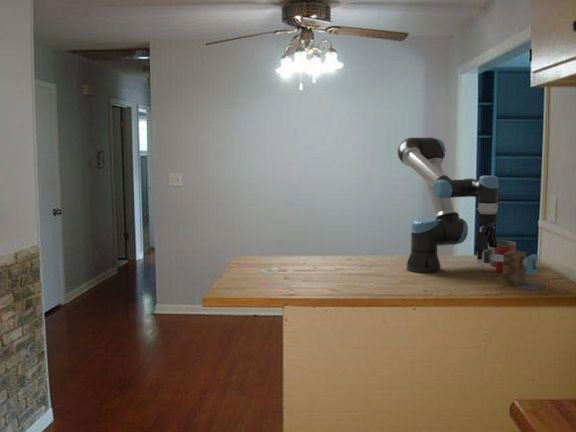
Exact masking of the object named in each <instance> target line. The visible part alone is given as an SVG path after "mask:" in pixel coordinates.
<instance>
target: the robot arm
mask: <svg viewBox="0 0 576 432" xmlns="http://www.w3.org/2000/svg"><path fill="white" fill-rule="evenodd" d="M397 156H398V159H399V161H400V162H402V164H404V165H405V166H407V167H410V168H411V169H412V170H413V171H415V173H417V174H418V175H419V176H420V177H421V178H422V179H423V180H424V181H426V185H427V189H428V192H429V196H430V199H431V203H432V207H433V211H434V215H435V216H434V217H431V216H430V217H429V216H428V217H420V218H416V219H414V220H413V221H412V222H411V228H410V232H411V237H410V238H411V239H410V243H411V244H410V254H409V256H408V260H407V263H406V270H407V271H410V272H414V273H421V274H424V273H425V274H429V273H439V272H440V271H441V270H442V269H441V261H440V259H439V255H438V246H439V247H440V246H455V245H461V244H463V243H464V242H465V241H466V239H467V237H468V233H469V229H468V228H469V226H468V223H467V221H466V220H465V219H464V218H460V215H459V212H457V211H455V210H454V206H453V202H452V199H451V198H469V197H472V198H478V207H477V210H478V212H479V213H478V214H477V222H478V223H481V225H480V226H478V227H477V235H476V241H475V246H474V247H475V248H474V252H477V254H476V268H477V267H478V268H484V267H485V263H484V252H483V250H484V249H485V246H486V242H487V245H488V244H489V247H488V246H487V250H493V252H492V254H494V253H495V248H494V247H497V240H498V239H497V222H498V221H497V220H498V214H497V213H498V208H499V205H498V200H499V187H500V185H499V178H498V176H497V175H481V176H479V179H474V178H463V179H452V178H450V177H449V176H448V175H446V173H444V171H443V167H442V165H443V163H444V159H445V157H446V147H445V144H444V142H443V140H442V139H440V138H438V137H433V136H431V137H430V136H429V137H407V138H405V139H404V140H402V141H401V143H400V144H399V145H398V148H397ZM491 263H494V261H492V262H491Z"/></svg>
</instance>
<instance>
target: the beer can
mask: <svg viewBox="0 0 576 432" xmlns="http://www.w3.org/2000/svg"><path fill="white" fill-rule="evenodd" d="M511 250H512V248H511V245H504V244H502V245H498V248H497V254H498V255H504V253H506V252H509V251H511ZM495 271H496V272H497V273H498V274H499V273H500V274H503V262H499V261H496V266H495Z"/></svg>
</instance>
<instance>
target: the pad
mask: <svg viewBox="0 0 576 432" xmlns="http://www.w3.org/2000/svg"><path fill="white" fill-rule="evenodd" d="M546 286H547V283H543V282H542V283H541V282H535V281H530V280H529V281H528V280H526V281H525V282H524V283H523V284H521V285H519V286H517V287H516V288H517V289H518V290H519V289H520V290H526V291H531V292H539V291H540V290H541V289H543V288H544V287H546Z"/></svg>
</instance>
